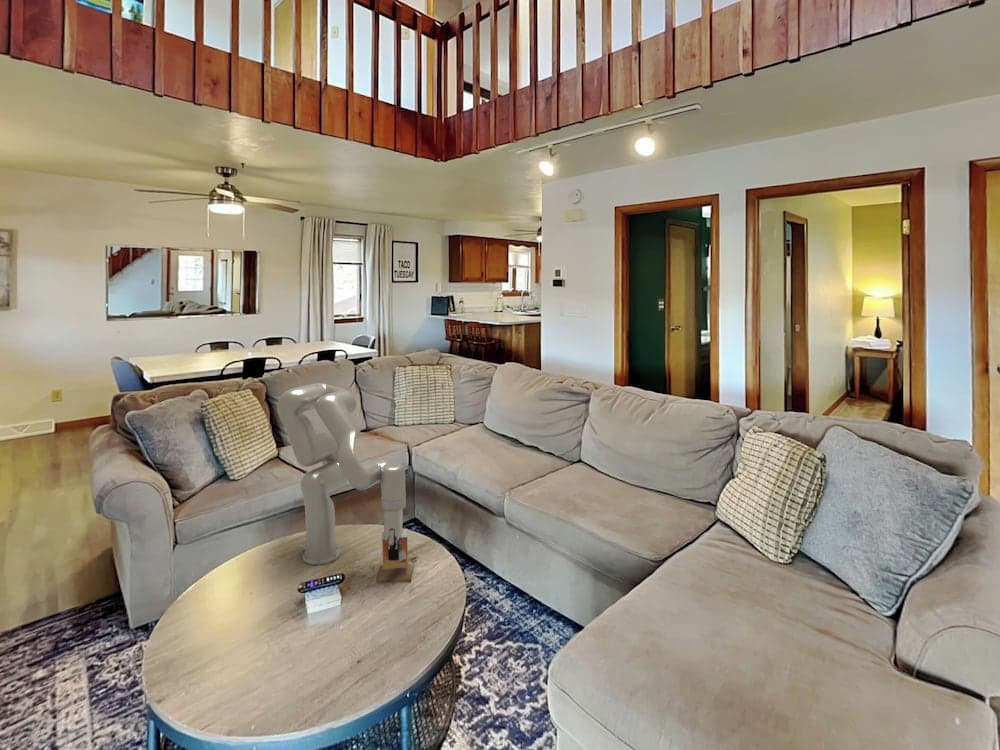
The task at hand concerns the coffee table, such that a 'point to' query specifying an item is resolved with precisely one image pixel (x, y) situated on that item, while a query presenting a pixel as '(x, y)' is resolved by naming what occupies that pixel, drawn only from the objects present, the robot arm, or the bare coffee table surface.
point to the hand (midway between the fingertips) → (395, 554)
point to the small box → (402, 552)
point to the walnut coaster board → (394, 574)
